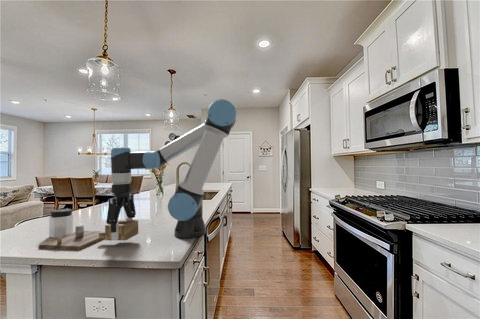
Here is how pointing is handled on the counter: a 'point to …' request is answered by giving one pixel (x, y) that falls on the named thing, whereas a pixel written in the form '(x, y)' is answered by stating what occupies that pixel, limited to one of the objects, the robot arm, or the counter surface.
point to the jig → (73, 240)
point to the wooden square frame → (121, 230)
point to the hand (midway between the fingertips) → (122, 236)
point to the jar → (60, 223)
